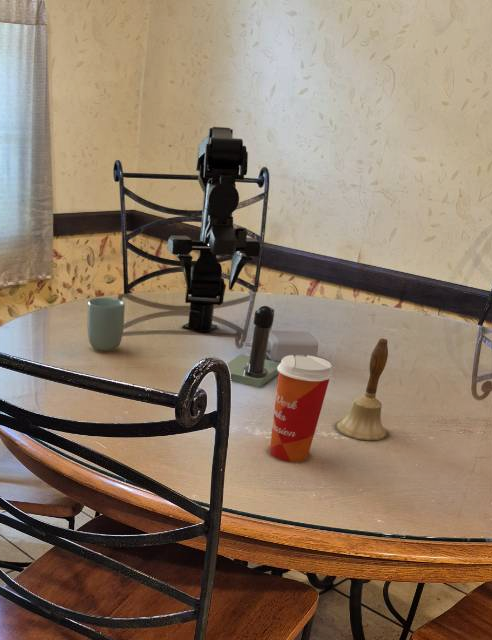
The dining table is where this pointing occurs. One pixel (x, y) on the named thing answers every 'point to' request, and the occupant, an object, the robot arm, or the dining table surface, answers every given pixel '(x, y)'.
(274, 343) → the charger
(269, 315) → the spout
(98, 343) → the cup
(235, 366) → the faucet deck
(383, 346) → the hand bell
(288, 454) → the coffee cup
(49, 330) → the dining table surface
